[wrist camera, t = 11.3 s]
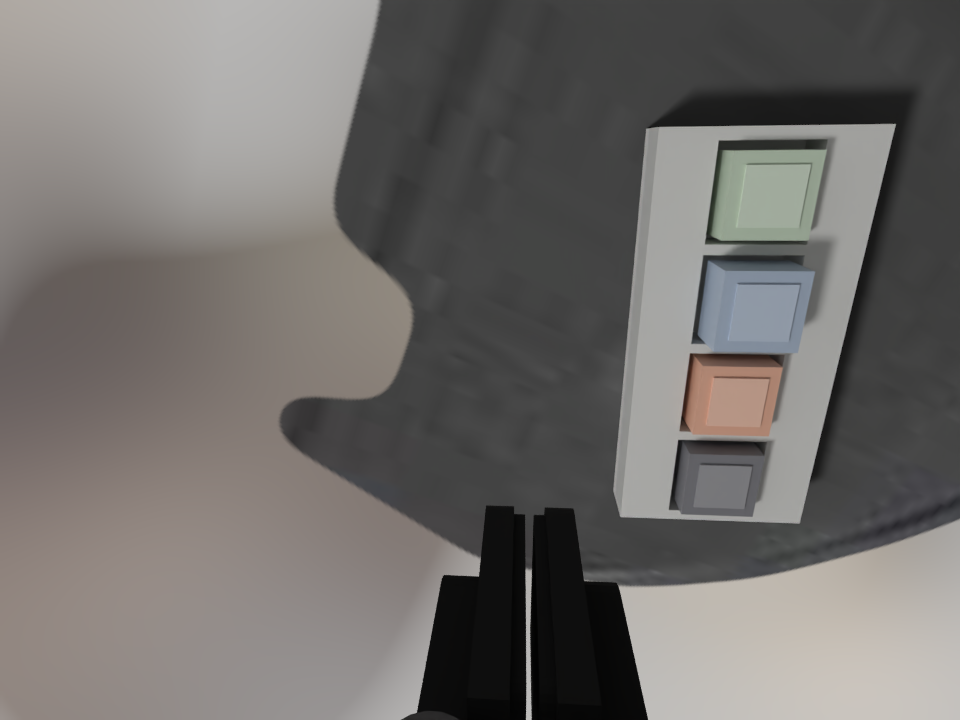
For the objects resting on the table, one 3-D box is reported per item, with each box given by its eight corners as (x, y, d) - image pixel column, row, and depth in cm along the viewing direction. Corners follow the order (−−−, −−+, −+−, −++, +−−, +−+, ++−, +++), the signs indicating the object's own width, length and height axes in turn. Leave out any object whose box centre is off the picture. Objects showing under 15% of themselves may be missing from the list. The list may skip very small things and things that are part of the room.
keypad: (860, 125, 31) (896, 123, 28) (779, 495, 41) (799, 523, 38) (646, 128, 32) (658, 127, 29) (613, 490, 41) (620, 516, 38)
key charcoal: (746, 433, 37) (765, 457, 35) (736, 490, 39) (753, 518, 36) (677, 431, 38) (690, 455, 35) (670, 488, 39) (681, 515, 37)
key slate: (789, 260, 32) (816, 272, 29) (775, 335, 34) (799, 354, 31) (707, 260, 32) (726, 271, 29) (697, 334, 34) (714, 352, 31)
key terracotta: (762, 350, 35) (783, 368, 32) (750, 414, 37) (769, 437, 34) (688, 349, 36) (703, 367, 33) (680, 412, 37) (693, 435, 34)
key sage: (799, 149, 31) (828, 149, 28) (784, 232, 33) (809, 241, 30) (715, 150, 31) (735, 150, 28) (704, 232, 33) (721, 240, 30)
